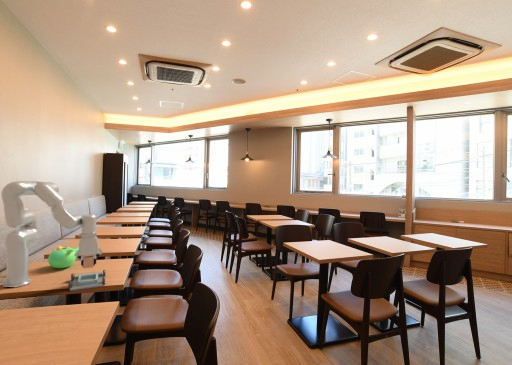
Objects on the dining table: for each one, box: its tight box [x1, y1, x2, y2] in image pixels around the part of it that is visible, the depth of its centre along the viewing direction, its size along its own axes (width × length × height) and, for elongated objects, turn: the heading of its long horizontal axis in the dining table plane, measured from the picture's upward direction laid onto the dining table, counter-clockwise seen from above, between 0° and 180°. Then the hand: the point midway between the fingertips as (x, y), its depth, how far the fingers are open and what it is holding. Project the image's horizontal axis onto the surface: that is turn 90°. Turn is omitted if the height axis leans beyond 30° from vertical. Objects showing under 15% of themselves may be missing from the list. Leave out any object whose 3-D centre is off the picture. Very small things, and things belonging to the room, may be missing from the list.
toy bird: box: [47, 245, 79, 269], centre depth 190 cm, size 18×17×15 cm
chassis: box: [67, 269, 106, 292], centre depth 163 cm, size 18×21×4 cm
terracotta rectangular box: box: [82, 255, 94, 269], centre depth 163 cm, size 5×7×6 cm
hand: (88, 265), depth 163 cm, fingers closed on terracotta rectangular box, 5 cm apart
